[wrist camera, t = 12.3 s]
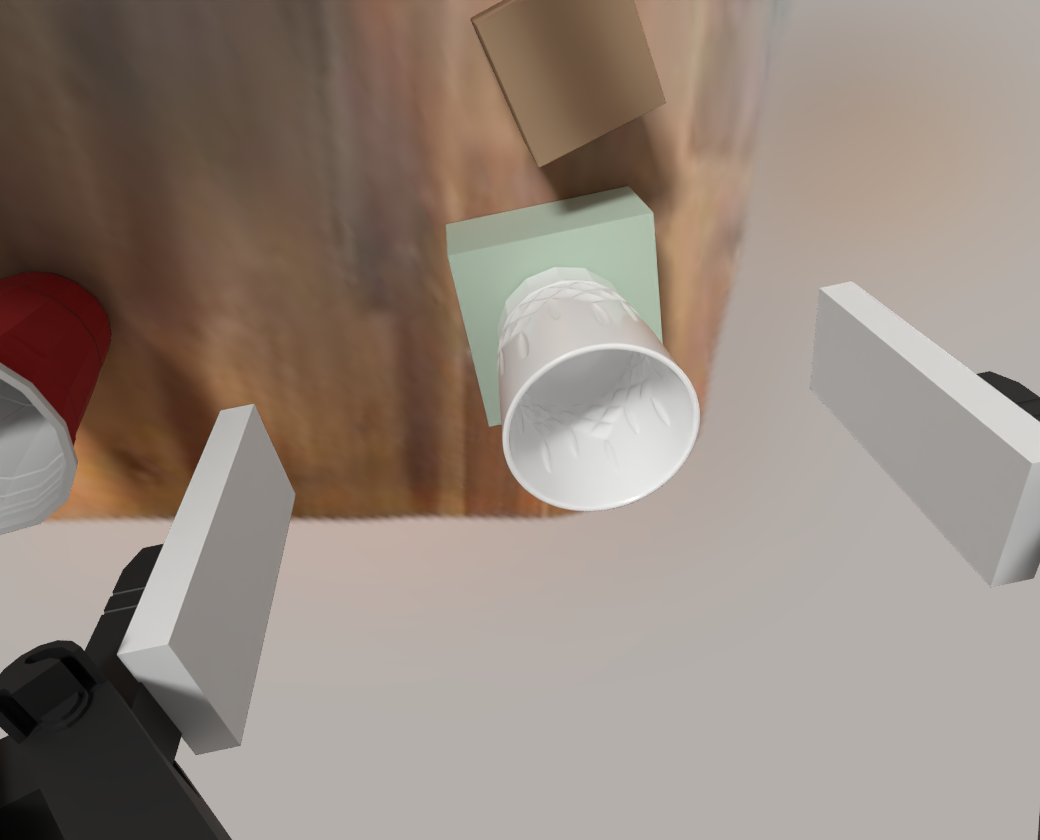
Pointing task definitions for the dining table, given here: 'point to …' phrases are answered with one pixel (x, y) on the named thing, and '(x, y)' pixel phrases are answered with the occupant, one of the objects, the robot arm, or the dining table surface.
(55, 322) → the plastic cup
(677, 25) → the dining table surface
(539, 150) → the walnut cube
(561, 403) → the white cup
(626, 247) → the base block
